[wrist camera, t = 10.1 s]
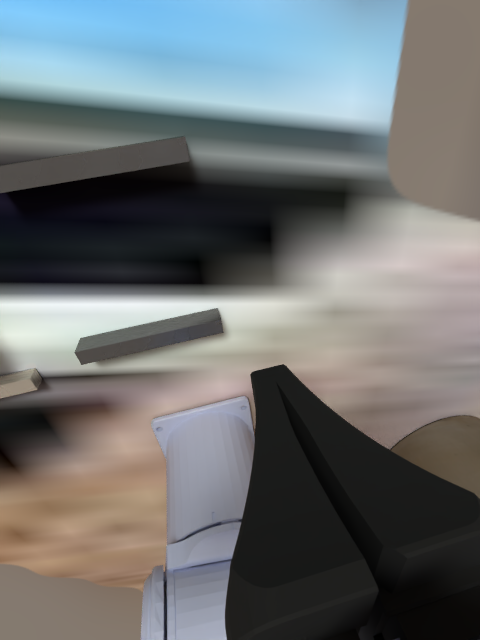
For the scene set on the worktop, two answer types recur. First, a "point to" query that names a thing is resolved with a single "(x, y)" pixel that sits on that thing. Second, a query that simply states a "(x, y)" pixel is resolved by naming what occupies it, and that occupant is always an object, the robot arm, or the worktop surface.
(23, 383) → the chute
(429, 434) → the plant pot
